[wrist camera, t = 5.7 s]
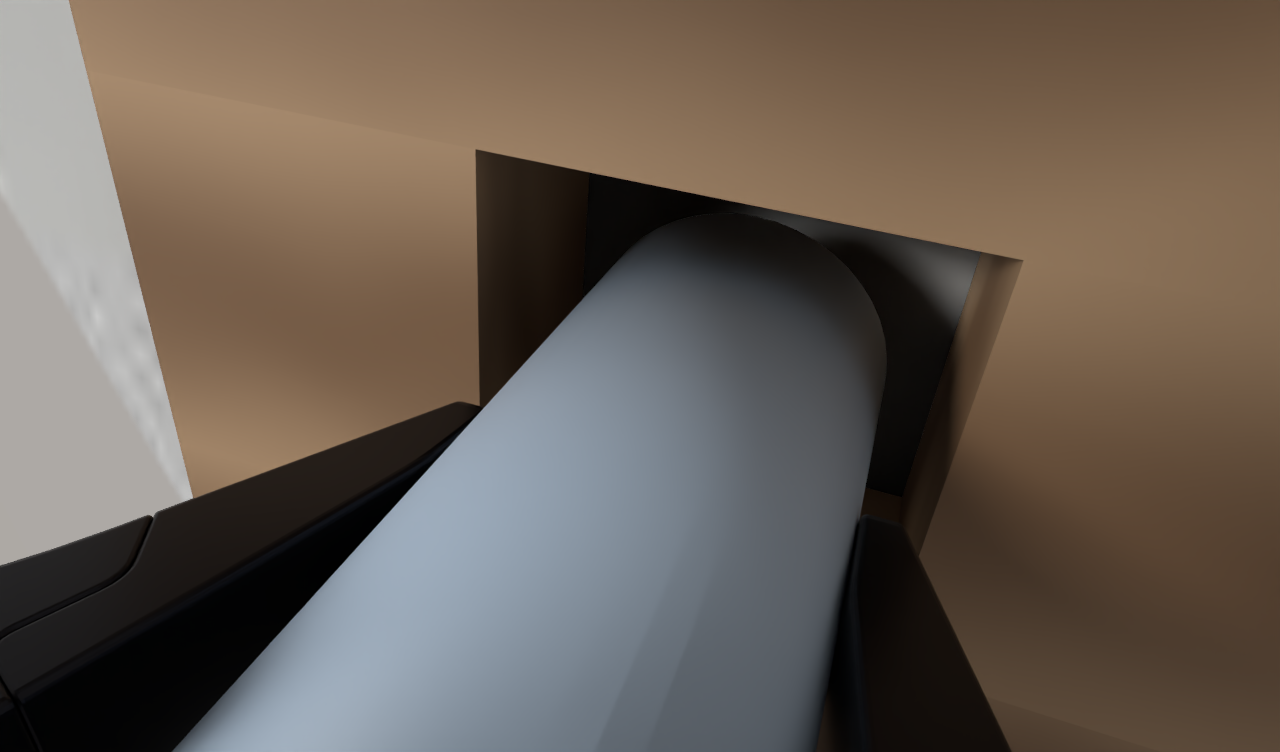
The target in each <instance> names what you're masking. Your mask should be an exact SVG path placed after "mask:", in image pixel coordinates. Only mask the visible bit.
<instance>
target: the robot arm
mask: <svg viewBox="0 0 1280 752" xmlns="http://www.w3.org/2000/svg"><path fill="white" fill-rule="evenodd" d="M483 408H484V407H481V406H478V405H474V404H470V403H467V402H462V401H457V402H454V403H451V404H448V405H445V406H443V407H440V408H437V409H434V410H432V411H429V412H426V413H424V414H421V415H418V416H415V417H413V418H410V419H407V420H405V421H402V422H399V423H397V424H394V425H391V426H388V427H386V428H383V429H380V430H378V431H375V432H372V433H369V434H367V435H364V436H361V437H359V438H356V439H353V440H350V441H348V442H345V443H342V444H340V445H337V446H334V447H331V448H329V449H326V450H323V451H321V452H318V453H315V454H313V455H310V456H307V457H304V458H302V459H299V460H296V461H294V462H291V463H288V464H285V465H283V466H280V467H277V468H275V469H272V470H269V471H266V472H264V473H261V474H258V475H256V476H253V477H250V478H247V479H245V480H242V481H239V482H236V483H234V484H231V485H228V486H226V487H223V488H220V489H217V490H215V491H212V492H209V493H207V494H204V495H201V496H198V497H196V498H193V499H190V500H188V501H185V502H182V503H179V504H177V505H174V506H171V507H169V508H166V509H163V510H161V511H158V512H156V513H155V515H154V517H152V516H150V515H147V516H144V517H141V518H138V519H136V520H133V521H131V522H128V523H125V524H122V525H120V526H117V527H114V528H111V529H109V530H106V531H103V532H100V533H97V534H94V535H92V536H89V537H86V538H83V539H80V540H77V541H74V542H72V543H69V544H66V545H63V546H60V547H57V548H54V549H51V550H49V551H45V552H42V553H39V554H36V555H33V556H29V557H26V558H23V559H20V560H17V561H14V562H11V563H7V564H4V565H1V566H0V752H172V751H173V750H174V749H175V748H176V747H177V745H178V744H179V743H180V742H181V741H182V740H183V739H184V738H185V737H186V736H187V734H188V733H189V732H190V731H191V730H192V729H193V728H194V727H195V726H196V725H197V723H198V722H199V721H200V720H201V719H202V718H203V717H204V716H205V715H206V714H207V712H208V711H209V710H210V709H211V708H212V707H213V706H214V705H215V704H216V703H217V701H218V700H219V699H220V698H221V697H222V696H223V695H224V694H225V693H226V691H227V690H228V689H229V688H230V687H231V686H232V685H233V684H234V683H235V682H236V680H237V679H238V678H239V677H240V676H241V675H242V674H243V673H244V672H245V671H246V669H247V668H248V667H249V666H250V665H251V664H252V663H253V662H254V661H255V660H256V658H257V657H258V656H259V655H260V654H261V653H262V652H263V651H264V650H265V649H266V647H267V646H268V645H269V644H270V643H271V642H272V641H273V640H274V639H275V638H276V636H277V635H278V634H279V633H280V632H281V631H282V630H283V629H284V628H285V627H286V625H287V624H288V623H289V622H290V621H291V620H292V619H293V618H294V617H295V616H296V614H297V613H298V612H299V611H300V610H301V609H302V608H303V607H304V606H305V604H306V603H307V602H308V601H309V600H310V599H311V598H312V597H313V596H314V595H315V593H316V592H317V591H318V590H319V589H320V588H321V587H322V586H323V585H324V584H325V582H326V581H327V580H328V579H329V578H330V577H331V576H332V575H333V574H334V573H335V571H336V570H337V569H338V568H339V567H340V566H341V565H342V564H343V563H344V562H345V560H346V559H347V558H348V557H349V556H350V555H351V554H352V553H353V552H354V551H355V549H356V548H357V547H358V546H359V545H360V544H361V543H362V542H363V541H364V540H365V538H366V537H367V536H368V535H369V534H370V533H371V532H372V531H373V530H374V528H375V527H376V526H377V525H378V524H379V523H380V522H381V521H382V520H383V519H384V517H385V516H386V515H387V514H388V513H389V512H390V511H391V510H392V509H393V508H394V506H395V505H396V504H397V503H398V502H399V501H400V500H401V499H402V498H403V497H404V495H405V494H406V493H407V492H408V491H409V490H410V489H411V488H412V487H413V486H414V484H415V483H416V482H417V481H418V480H419V479H420V478H421V477H422V476H423V475H424V473H425V472H426V471H427V470H428V469H429V468H430V467H431V466H432V465H433V464H434V462H435V461H436V460H437V459H438V458H439V457H440V456H441V455H442V454H443V453H444V451H445V450H446V449H447V448H448V447H449V446H450V445H451V444H452V443H453V441H454V440H455V439H456V438H457V437H458V436H459V435H460V434H461V433H462V432H463V430H464V429H465V428H466V427H467V426H468V425H469V424H470V423H471V422H472V421H473V419H474V418H475V417H476V416H477V415H478V414H479V413H480V412H481V411H482V410H483ZM816 752H1012V750H1011V748H1010V746H1009V744H1008V742H1007V740H1006V738H1005V736H1004V734H1003V732H1002V729H1001V727H1000V725H999V723H998V721H997V719H996V717H995V715H994V713H993V711H992V709H991V706H990V704H989V702H988V700H987V698H986V696H985V694H984V692H983V690H982V688H981V686H980V683H979V681H978V679H977V677H976V675H975V673H974V671H973V669H972V667H971V665H970V663H969V661H968V658H967V656H966V654H965V652H964V650H963V648H962V646H961V644H960V642H959V640H958V638H957V635H956V633H955V631H954V629H953V627H952V625H951V623H950V621H949V619H948V617H947V615H946V612H945V610H944V608H943V606H942V604H941V602H940V600H939V598H938V596H937V594H936V592H935V589H934V587H933V585H932V583H931V581H930V579H929V577H928V575H927V573H926V571H925V569H924V566H923V564H922V562H921V560H920V558H919V556H918V554H917V552H916V550H915V548H914V546H913V543H912V541H911V539H910V537H909V535H908V533H907V531H906V529H905V527H904V526H903V525H902V524H900V523H898V522H894V521H891V520H887V519H883V518H880V517H876V516H873V515H868V514H866V515H863V516H862V517H861V518H860V520H859V523H858V527H857V532H856V538H855V543H854V548H853V554H852V559H851V564H850V570H849V575H848V580H847V585H846V591H845V596H844V601H843V607H842V612H841V618H840V625H839V631H838V636H837V642H836V647H835V652H834V658H833V663H832V668H831V674H830V679H829V684H828V690H827V695H826V700H825V706H824V711H823V716H822V722H821V727H820V732H819V738H818V743H817V748H816Z"/></svg>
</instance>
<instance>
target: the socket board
mask: <svg viewBox="0 0 1280 752" xmlns="http://www.w3.org/2000/svg"><path fill="white" fill-rule="evenodd" d="M69 3H70V7H71V11H72V15H73V19H74V23H75V27H76V31H77V35H78V39H79V43H80V47H81V51H82V55H83V59H84V63H85V67H86V71H87V75H88V79H89V83H90V87H91V91H92V95H93V99H94V103H95V107H96V111H97V115H98V119H99V123H100V127H101V131H102V135H103V139H104V143H105V147H106V151H107V155H108V159H109V163H110V167H111V171H112V175H113V179H114V183H115V187H116V191H117V195H118V199H119V203H120V207H121V211H122V215H123V219H124V223H125V227H126V231H127V235H128V239H129V243H130V247H131V251H132V255H133V259H134V263H135V267H136V271H137V275H138V279H139V283H140V287H141V291H142V295H143V299H144V303H145V307H146V311H147V315H148V319H149V323H150V327H151V331H152V335H153V339H154V343H155V347H156V351H157V355H158V359H159V363H160V367H161V371H162V375H163V379H164V383H165V387H166V391H167V395H168V399H169V403H170V407H171V411H172V415H173V419H174V423H175V427H176V431H177V435H178V439H179V443H180V447H181V451H182V455H183V459H184V463H185V467H186V471H187V475H188V479H189V483H190V487H191V491H192V495H193V498H196V497H198V496H201V495H204V494H207V493H209V492H212V491H215V490H217V489H220V488H223V487H226V486H228V485H231V484H234V483H236V482H239V481H242V480H245V479H247V478H250V477H253V476H256V475H258V474H261V473H264V472H266V471H269V470H272V469H275V468H277V467H280V466H283V465H285V464H288V463H291V462H294V461H296V460H299V459H302V458H304V457H307V456H310V455H313V454H315V453H318V452H321V451H323V450H326V449H329V448H331V447H334V446H337V445H340V444H342V443H345V442H348V441H350V440H353V439H356V438H359V437H361V436H364V435H367V434H369V433H372V432H375V431H378V430H380V429H383V428H386V427H388V426H391V425H394V424H397V423H399V422H402V421H405V420H407V419H410V418H413V417H415V416H418V415H421V414H424V413H426V412H429V411H432V410H434V409H437V408H440V407H443V406H445V405H448V404H451V403H454V402H457V401H462V402H467V403H470V404H474V405H478V406H481V407H485V406H486V405H487V404H488V403H489V402H490V401H491V400H492V399H493V397H494V396H495V395H496V394H497V393H498V392H499V391H500V390H501V389H502V388H503V386H504V385H505V384H506V383H507V382H508V381H509V380H510V379H511V378H512V377H513V375H514V374H515V373H516V372H517V371H518V370H519V369H520V368H521V367H522V366H523V364H524V363H525V362H526V361H527V360H528V359H529V358H530V357H531V356H532V354H533V353H534V352H535V351H536V350H537V349H538V348H539V347H540V346H541V345H542V343H543V342H544V341H545V340H546V339H547V338H548V337H549V336H550V335H551V334H552V332H553V331H554V330H555V329H556V328H557V327H558V326H559V325H560V324H561V323H562V321H563V320H564V319H565V318H566V317H567V316H568V315H569V314H570V313H571V312H572V310H573V309H574V308H575V307H576V306H577V305H578V304H579V303H580V302H581V301H582V298H583V280H584V263H585V245H586V227H587V209H588V192H589V174H590V173H595V174H600V175H605V176H610V177H615V178H620V179H625V180H630V181H635V182H640V183H645V184H650V185H654V186H659V187H664V188H669V189H674V190H679V191H684V192H689V193H694V194H699V195H704V196H709V197H714V198H719V199H724V200H728V201H733V202H738V203H743V204H748V205H753V206H758V207H763V208H768V209H773V210H778V211H783V212H788V213H793V214H797V215H802V216H807V217H812V218H817V219H822V220H827V221H832V222H837V223H842V224H847V225H852V226H857V227H862V228H867V229H871V230H876V231H881V232H886V233H891V234H896V235H901V236H906V237H911V238H916V239H921V240H926V241H931V242H936V243H941V244H945V245H950V246H955V247H960V248H965V249H970V250H975V251H980V252H981V255H980V258H979V261H978V264H977V267H976V270H975V273H974V276H973V279H972V282H971V285H970V289H969V292H968V295H967V298H966V301H965V304H964V307H963V310H962V313H961V316H960V319H959V322H958V326H957V329H956V332H955V335H954V338H953V341H952V344H951V347H950V350H949V353H948V356H947V359H946V363H945V366H944V369H943V372H942V375H941V378H940V381H939V384H938V387H937V390H936V393H935V396H934V400H933V403H932V406H931V409H930V412H929V415H928V418H927V421H926V424H925V427H924V430H923V434H922V437H921V440H920V443H919V446H918V449H917V452H916V455H915V458H914V461H913V464H912V467H911V471H910V474H909V477H908V480H907V483H906V486H905V489H904V492H903V495H902V497H899V496H895V495H891V494H888V493H884V492H880V491H877V490H873V489H869V488H866V487H865V492H864V497H863V503H862V508H861V513H860V518H861V517H862V516H863V515H866V514H868V515H873V516H876V517H880V518H883V519H887V520H891V521H894V522H898V523H900V524H902V525H903V526H904V527H905V529H906V531H907V533H908V535H909V537H910V539H911V541H912V543H913V546H914V548H915V550H916V552H917V554H918V556H919V558H920V560H921V562H922V564H923V566H924V569H925V571H926V573H927V575H928V577H929V579H930V581H931V583H932V585H933V587H934V589H935V592H936V594H937V596H938V598H939V600H940V602H941V604H942V606H943V608H944V610H945V612H946V615H947V617H948V619H949V621H950V623H951V625H952V627H953V629H954V631H955V633H956V635H957V638H958V640H959V642H960V644H961V646H962V648H963V650H964V652H965V654H966V656H967V658H968V661H969V663H970V665H971V667H972V669H973V671H974V673H975V675H976V677H977V679H978V681H979V683H980V686H981V688H982V690H983V692H984V694H985V696H986V698H987V700H988V702H989V704H990V706H991V709H992V711H993V713H994V715H995V717H996V719H997V721H998V723H999V725H1000V727H1001V729H1002V732H1003V734H1004V736H1005V738H1006V740H1007V742H1008V744H1009V746H1010V748H1011V750H1012V752H1280V0H69ZM859 520H860V519H859Z"/></svg>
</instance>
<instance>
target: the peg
mask: <svg viewBox="0 0 1280 752" xmlns="http://www.w3.org/2000/svg"><path fill="white" fill-rule="evenodd" d="M886 369H887V353H886V344H885V337H884V334H883V330H882V326H881V322H880V319H879V317H878V315H877V312H876V310H875V307H874V305H873V303H872V301H871V299H870V298H869V296H868V294H867V293H866V291H865V289H864V288H863V286H862V284H861V283H860V282H859V281H858V279H857V278H856V277H855V276H854V274H853V273H852V272H851V271H850V269H849V268H848V267H847V266H846V265H845V264H843V263H842V262H841V261H840V260H839V259H838V258H837V257H836V256H835V255H834V254H833V253H832V252H830V251H829V250H828V249H826V248H825V247H824V246H822V245H821V244H820V243H818V242H817V241H815V240H813V239H812V238H810V237H808V236H806V235H805V234H803V233H801V232H799V231H798V230H795V229H793V228H790V227H788V226H786V225H783V224H781V223H778V222H775V221H771V220H768V219H764V218H760V217H757V216H750V215H743V214H736V213H713V214H704V215H695V216H691V217H687V218H684V219H680V220H676V221H673V222H671V223H669V224H666V225H664V226H661V227H659V228H657V229H655V230H654V231H652V232H650V233H649V234H647V235H645V236H644V237H642V238H641V239H640V240H639V241H637V242H636V243H635V244H634V245H632V246H631V247H630V248H629V249H628V250H627V251H626V252H625V253H624V254H623V255H622V256H621V258H620V259H619V260H618V261H617V262H616V263H615V264H614V265H613V266H612V267H611V269H610V270H609V271H608V272H607V273H606V274H605V275H604V276H603V277H602V279H601V280H600V281H599V282H598V283H597V284H596V285H595V286H594V287H593V288H592V290H591V291H590V292H589V293H588V294H587V295H586V296H585V297H584V298H583V299H582V301H581V302H580V303H579V304H578V305H577V306H576V307H575V308H574V309H573V310H572V312H571V313H570V314H569V315H568V316H567V317H566V318H565V319H564V320H563V321H562V323H561V324H560V325H559V326H558V327H557V328H556V329H555V330H554V331H553V332H552V334H551V335H550V336H549V337H548V338H547V339H546V340H545V341H544V342H543V343H542V345H541V346H540V347H539V348H538V349H537V350H536V351H535V352H534V353H533V354H532V356H531V357H530V358H529V359H528V360H527V361H526V362H525V363H524V364H523V366H522V367H521V368H520V369H519V370H518V371H517V372H516V373H515V374H514V375H513V377H512V378H511V379H510V380H509V381H508V382H507V383H506V384H505V385H504V386H503V388H502V389H501V390H500V391H499V392H498V393H497V394H496V395H495V396H494V397H493V399H492V400H491V401H490V402H489V403H488V404H487V405H486V406H485V407H484V408H483V410H482V411H481V412H480V413H479V414H478V415H477V416H476V417H475V418H474V419H473V421H472V422H471V423H470V424H469V425H468V426H467V427H466V428H465V429H464V430H463V432H462V433H461V434H460V435H459V436H458V437H457V438H456V439H455V440H454V441H453V443H452V444H451V445H450V446H449V447H448V448H447V449H446V450H445V451H444V453H443V454H442V455H441V456H440V457H439V458H438V459H437V460H436V461H435V462H434V464H433V465H432V466H431V467H430V468H429V469H428V470H427V471H426V472H425V473H424V475H423V476H422V477H421V478H420V479H419V480H418V481H417V482H416V483H415V484H414V486H413V487H412V488H411V489H410V490H409V491H408V492H407V493H406V494H405V495H404V497H403V498H402V499H401V500H400V501H399V502H398V503H397V504H396V505H395V506H394V508H393V509H392V510H391V511H390V512H389V513H388V514H387V515H386V516H385V517H384V519H383V520H382V521H381V522H380V523H379V524H378V525H377V526H376V527H375V528H374V530H373V531H372V532H371V533H370V534H369V535H368V536H367V537H366V538H365V540H364V541H363V542H362V543H361V544H360V545H359V546H358V547H357V548H356V549H355V551H354V552H353V553H352V554H351V555H350V556H349V557H348V558H347V559H346V560H345V562H344V563H343V564H342V565H341V566H340V567H339V568H338V569H337V570H336V571H335V573H334V574H333V575H332V576H331V577H330V578H329V579H328V580H327V581H326V582H325V584H324V585H323V586H322V587H321V588H320V589H319V590H318V591H317V592H316V593H315V595H314V596H313V597H312V598H311V599H310V600H309V601H308V602H307V603H306V604H305V606H304V607H303V608H302V609H301V610H300V611H299V612H298V613H297V614H296V616H295V617H294V618H293V619H292V620H291V621H290V622H289V623H288V624H287V625H286V627H285V628H284V629H283V630H282V631H281V632H280V633H279V634H278V635H277V636H276V638H275V639H274V640H273V641H272V642H271V643H270V644H269V645H268V646H267V647H266V649H265V650H264V651H263V652H262V653H261V654H260V655H259V656H258V657H257V658H256V660H255V661H254V662H253V663H252V664H251V665H250V666H249V667H248V668H247V669H246V671H245V672H244V673H243V674H242V675H241V676H240V677H239V678H238V679H237V680H236V682H235V683H234V684H233V685H232V686H231V687H230V688H229V689H228V690H227V691H226V693H225V694H224V695H223V696H222V697H221V698H220V699H219V700H218V701H217V703H216V704H215V705H214V706H213V707H212V708H211V709H210V710H209V711H208V712H207V714H206V715H205V716H204V717H203V718H202V719H201V720H200V721H199V722H198V723H197V725H196V726H195V727H194V728H193V729H192V730H191V731H190V732H189V733H188V734H187V736H186V737H185V738H184V739H183V740H182V741H181V742H180V743H179V744H178V745H177V747H176V748H175V749H174V750H173V751H172V752H816V748H817V743H818V738H819V732H820V727H821V722H822V716H823V711H824V706H825V700H826V695H827V690H828V684H829V679H830V674H831V668H832V663H833V658H834V652H835V647H836V642H837V636H838V631H839V625H840V618H841V612H842V607H843V601H844V596H845V591H846V585H847V580H848V575H849V570H850V564H851V559H852V554H853V548H854V543H855V538H856V532H857V527H858V523H859V519H860V513H861V508H862V503H863V497H864V492H865V487H866V481H867V476H868V470H869V465H870V460H871V454H872V449H873V444H874V438H875V433H876V428H877V422H878V417H879V412H880V406H881V401H882V396H883V390H884V385H885V380H886Z"/></svg>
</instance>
